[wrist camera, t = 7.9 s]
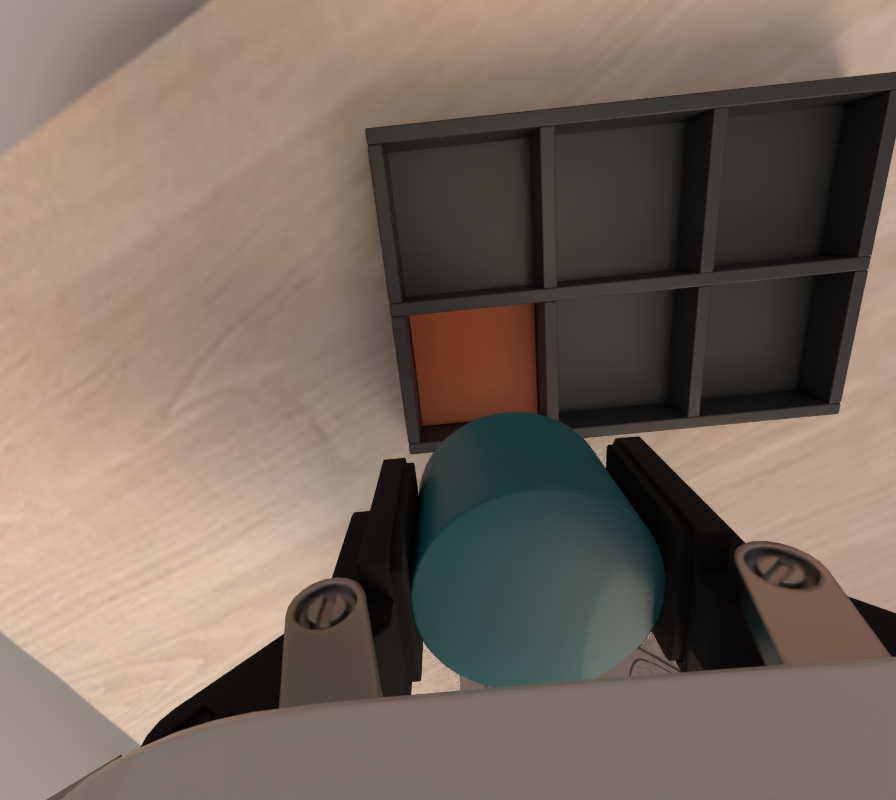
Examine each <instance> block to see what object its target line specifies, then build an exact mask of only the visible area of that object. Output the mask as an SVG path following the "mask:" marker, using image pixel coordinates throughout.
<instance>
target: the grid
mask: <svg viewBox="0 0 896 800" xmlns="http://www.w3.org/2000/svg"><path fill="white" fill-rule="evenodd" d="M365 132H366V139H367V144H368V153H369V161H370V168H371V175H372V182H373V190H374V197H375V204H376V211H377V219H378V226H379V233H380V240H381V247H382V255H383V262H384V269H385V276H386V284H387V291H388V298H389V303H390V313H391V317H392V319H391V320H392V327H393V334H394V341H395V349H396V356H397V363H398V370H399V378H400V385H401V392H402V399H403V407H404V414H405V421H406V428H407V435H408V442H409V450H410V454H420V453H431V452H435V450H436V449H437V448H438V446H439V445H440V444H441V443H442V442H443V441H444V440H445V439H446V438H447V437H448V436H450V435H451V434H452V433H454V432H455V431H456V430H458V429H459V428H461V427H463V426H464V425H466V424H468V423H470V422H472V421H475V420H477V419H479V418H482V417H486V416H489V415H493V414H499V413H505V412H527V413H534V414H539V415H544V416H547V417H550V418H552V419H555V420H557V421H559V422H561V423H563V424H565V425H567V426H569V427H570V428H571V429H573V430H574V431H576V432H577V433H578V434H579V435H580V436H581V437H582V438H588V437H599V436H609V435H620V434H631V433H641V432H652V431H662V430H673V429H683V428H694V427H704V426H715V425H725V424H736V423H746V422H757V421H767V420H778V419H788V418H799V417H809V416H820V415H830V414H838V413H839V408H840V402H841V399H842V394H843V389H844V384H845V379H846V374H847V370H848V365H849V360H850V355H851V350H852V345H853V341H854V336H855V331H856V326H857V321H858V316H859V312H860V307H861V302H862V297H863V292H864V287H865V283H866V278H867V273H868V271H867V269H868V268H869V263H870V259H871V256H870V255H871V254H872V250H873V245H874V240H875V235H876V230H877V225H878V221H879V216H880V211H881V206H882V201H883V196H884V192H885V187H886V182H887V177H888V172H889V167H890V163H891V158H892V153H893V148H894V143H895V138H896V72H890V73H880V74H871V75H862V76H852V77H843V78H833V79H824V80H815V81H805V82H796V83H787V84H777V85H768V86H758V87H749V88H740V89H730V90H721V91H712V92H702V93H693V94H683V95H674V96H665V97H655V98H646V99H637V100H627V101H618V102H608V103H599V104H590V105H580V106H571V107H562V108H552V109H543V110H533V111H524V112H515V113H505V114H496V115H487V116H477V117H468V118H458V119H449V120H440V121H430V122H421V123H412V124H402V125H393V126H383V127H374V128H366V129H365Z"/></svg>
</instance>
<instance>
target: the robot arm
mask: <svg viewBox="0 0 896 800" xmlns="http://www.w3.org/2000/svg"><path fill="white" fill-rule="evenodd" d="M606 470H607V471H608V472H609V474H610V475H611V477H612V478H613V479H614V481H615V482H616V484H617V485H618V487H619V488H620V489H621V491H622V492H623V494H624V495H625V496H626V498H627V499H628V501H629V502H630V504H631V505H632V506H633V508H634V509H635V511H636V512H637V514H638V515H639V516H640V518H641V519H642V521H643V522H644V523H645V525H646V526H647V528H648V529H649V531H650V532H651V533H652V535H653V537H654V538H655V540H656V542H657V544H658V546H659V548H660V551H661V554H662V556H663V559H664V564H665V571H666V581H665V594H664V603H663V607H662V610H661V613H660V615H659V617H658V619H657V621H656V623H655V625H654V627H653V629H652V630H651V631H652V632H653V634H654V636H655V638H656V640H657V642H658V644H659V646H660V648H661V649H662V651H663V653H664V655H665V657H666V658H667V659H668V660H669V661H674V660H675V661H676V663H677V665H678V666H679V668H680V670H681V672H680V673H668V674H655V675H643V676H630V677H618V678H605V679H593V680H581V681H568V682H556V683H544V684H532V685H520V686H508V687H497V688H485V689H474V690H462V691H451V692H439V693H428V694H416V695H411V689H412V682H417V681H421V675H422V654H423V640H422V638H421V636H420V635H419V633H418V630H417V628H416V624H415V618H414V612H413V605H412V599H411V590H410V586H411V575H412V564H413V553H414V542H415V532H416V521H417V510H418V500H419V494H418V487H417V479H416V472H415V465H414V463H407V462H406V459H405V458H398V459H387V460H384V461H383V464H382V468H381V471H380V475H379V479H378V483H377V487H376V490H375V494H374V498H373V502H372V506H371V509H370V511H365V512H355V513H353V515H352V518H351V521H350V524H349V527H348V530H347V533H346V536H345V539H344V542H343V545H342V548H341V552H340V555H339V558H338V561H337V564H336V567H335V570H334V573H333V576H332V578H330V579H325V580H322V581H319V582H316V583H314V584H312V585H310V586H309V587H307V588H305V589H304V590H302V591H301V592H300V593H299V594H298V595H297V596H296V597H295V598H294V599H293V600H292V602H291V603H290V605H289V606H288V609H287V613H286V617H285V631H284V634H283V635H282V636H280V637H279V638H277V639H276V640H274V641H273V642H271V643H270V644H268V645H267V646H266V647H264V648H263V649H261V650H260V651H258V652H257V653H255V654H254V655H252V656H251V657H249V658H248V659H247V660H245V661H244V662H242V663H241V664H239V665H238V666H236V667H235V668H233V669H232V670H231V671H229V672H228V673H226V674H225V675H223V676H222V677H220V678H219V679H217V680H216V681H215V682H213V683H212V684H210V685H209V686H207V687H206V688H204V689H203V690H201V691H200V692H198V693H197V694H196V695H194V696H193V697H191V698H190V699H188V700H187V701H185V702H184V703H182V704H181V705H180V706H178V707H177V708H175V709H174V710H173V711H171V712H170V713H169V714H168V715H166V716H165V717H164V718H163V719H162V720H160V721H159V723H158V724H157V725H156V726H155V727H154V728H153V729H152V730H151V732H150V733H149V734H148V735H147V737H146V738H145V740H144V742H143V744H142V745H141V747H140V748H138V749H136V750H134V751H132V752H130V753H128V754H126V755H124V756H122V755H120V756H118V757H116V758H115V759H113V760H111V761H110V762H108V763H106V764H105V765H103V766H101V767H100V768H98V769H96V770H95V771H93V772H91V773H90V774H88V775H87V776H85V777H83V778H82V779H80V780H79V781H77V782H75V783H73V784H72V785H70V786H68V787H67V788H65V789H63V790H62V791H60V792H58V793H57V794H55V795H53V796H52V797H50V798H48V799H47V800H896V613H893V612H890V611H887V610H885V609H882V608H879V607H876V606H873V605H871V604H868V603H865V602H862V601H859V600H856V599H854V598H851V597H848V596H847V595H846V594H845V592H844V591H843V590H842V588H841V587H840V586H839V584H838V583H837V581H836V580H835V579H834V577H833V576H832V575H831V573H830V572H829V571H828V569H827V568H826V567H825V566H824V565H823V564H822V563H821V562H820V561H818V560H817V559H815V558H814V557H812V556H811V555H809V554H807V553H805V552H803V551H801V550H798V549H796V548H794V547H791V546H787V545H784V544H780V543H774V542H768V541H753V542H749V543H745V542H744V541H743V540H742V539H741V538H740V537H739V536H738V535H737V534H736V533H735V532H734V531H733V530H732V529H731V528H730V527H729V526H728V525H727V524H726V523H725V522H724V521H723V520H722V519H721V518H720V517H719V516H718V515H717V514H716V513H715V512H714V511H713V510H712V509H711V508H710V507H709V506H708V505H707V504H706V503H705V502H704V501H703V500H702V499H701V498H700V497H699V496H698V495H697V494H696V493H695V492H694V491H693V490H692V489H691V488H690V487H689V486H688V485H687V484H686V483H685V482H684V481H683V480H682V479H681V478H680V477H679V476H678V475H677V474H676V473H675V472H674V471H673V470H672V469H671V468H670V467H669V466H668V465H667V464H666V463H665V462H664V461H663V460H662V459H661V458H660V457H659V456H658V455H657V454H656V453H655V452H654V451H653V450H652V449H651V448H650V447H649V446H648V445H647V444H646V443H645V442H644V441H643V440H642V439H641V438H640V437H639V436H638V437H627V438H616V439H615V440H614V443H613V444H612V445H608V446H607V455H606Z"/></svg>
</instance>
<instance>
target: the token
mask: <svg viewBox="0 0 896 800" xmlns="http://www.w3.org/2000/svg"><path fill="white" fill-rule="evenodd" d="M665 581H666V571H665V564H664V559H663V556H662V554H661V551H660V548H659V546H658V544H657V542H656V540H655V538H654V537H653V535H652V533H651V532H650V531H649V529H648V528H647V526H646V525H645V523H644V522H643V521H642V519H641V518H640V516H639V515H638V514H637V512H636V511H635V509H634V508H633V506H632V505H631V504H630V502H629V501H628V499H627V498H626V496H625V495H624V494H623V492H622V491H621V489H620V488H619V487H618V485H617V484H616V482H615V481H614V479H613V478H612V477H611V475H610V474H609V472H608V471H607V470H606V468H605V467H604V465H603V464H602V462H601V461H600V460H599V458H598V457H597V455H596V454H595V453H594V451H593V450H592V448H591V447H590V446H589V445H588V443H587V442H586V441H585V440H584V439H583V438H582V437H581V436H580V435H579V434H578V433H577V432H576V431H574V430H573V429H571V428H570V427H569V426H567V425H565V424H563V423H561V422H559V421H557V420H555V419H552V418H550V417H547V416H544V415H539V414H534V413H527V412H505V413H499V414H493V415H489V416H486V417H482V418H479V419H477V420H475V421H472V422H470V423H468V424H466V425H464V426H463V427H461V428H459V429H458V430H456V431H455V432H454V433H452V434H451V435H450V436H448V437H447V438H446V439H445V440H444V441H443V442H442V443H441V444H440V445H439V446H438V448H437V449H436V450H435V452H434V453H433V454H432V456H431V458H430V459H429V461H428V463H427V465H426V467H425V469H424V472H423V474H422V478H421V482H420V489H419V500H418V510H417V521H416V532H415V542H414V553H413V564H412V575H411V586H410V590H411V599H412V605H413V612H414V618H415V624H416V628H417V630H418V633H419V635H420V636H421V638H422V640H423V641H424V643H425V644H426V646H427V647H428V648H429V650H430V651H431V652H432V653H433V654H434V656H435V657H437V658H438V659H439V660H440V661H441V662H442V663H443V664H444V665H446V666H447V667H448V668H450V669H451V670H453V671H454V672H456V673H457V674H459V675H461V676H463V677H465V678H467V679H469V680H471V681H474V682H476V683H479V684H481V685H485V686H488V687H492V688H497V687H508V686H520V685H532V684H544V683H556V682H568V681H581V680H591V679H593V678H595V677H598V676H600V675H602V674H603V673H605V672H607V671H609V670H611V669H612V668H614V667H615V666H617V665H618V664H620V663H621V662H622V661H624V660H625V659H626V658H627V657H629V656H630V655H631V654H632V653H633V652H634V651H635V650H636V649H637V648H638V647H639V646H640V645H641V644H642V643H643V641H644V640H645V639H646V638H647V636H648V635H649V633H650V632H651V630H652V629H653V627H654V625H655V623H656V621H657V619H658V617H659V615H660V613H661V610H662V607H663V603H664V594H665Z"/></svg>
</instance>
